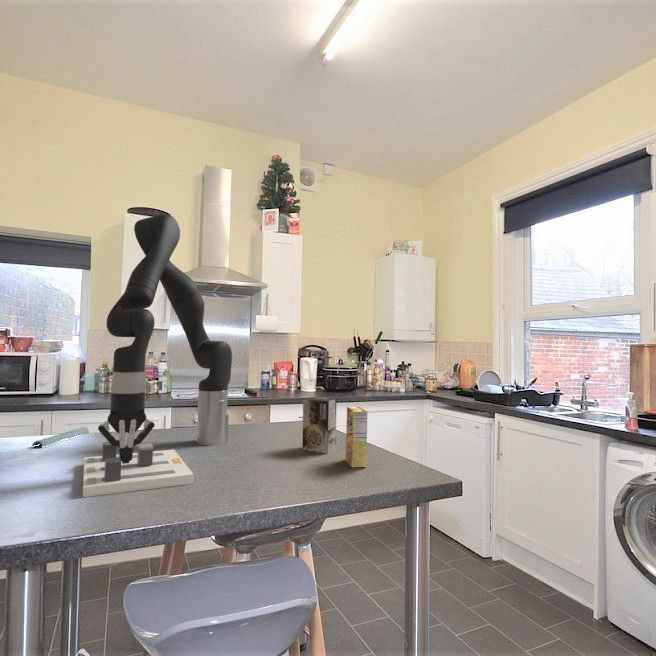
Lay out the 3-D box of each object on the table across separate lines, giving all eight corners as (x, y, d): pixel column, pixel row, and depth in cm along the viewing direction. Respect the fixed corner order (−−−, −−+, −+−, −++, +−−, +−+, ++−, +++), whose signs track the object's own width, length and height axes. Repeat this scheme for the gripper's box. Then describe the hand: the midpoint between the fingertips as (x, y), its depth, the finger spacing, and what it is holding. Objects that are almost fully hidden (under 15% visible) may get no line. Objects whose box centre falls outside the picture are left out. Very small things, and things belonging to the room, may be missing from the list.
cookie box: (336, 450, 136) (337, 398, 136) (327, 454, 130) (329, 400, 130) (310, 446, 139) (311, 396, 140) (301, 450, 134) (302, 398, 134)
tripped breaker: (150, 460, 108) (151, 443, 108) (152, 464, 105) (153, 446, 105) (136, 461, 107) (137, 444, 107) (138, 466, 103) (139, 448, 103)
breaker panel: (173, 458, 121) (174, 435, 122) (193, 485, 99) (194, 456, 99) (83, 467, 111) (85, 441, 111) (82, 500, 88) (84, 467, 88)
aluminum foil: (42, 453, 126) (43, 441, 126) (20, 452, 126) (20, 440, 126) (89, 437, 148) (89, 427, 148) (70, 436, 149) (70, 426, 149)
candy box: (344, 460, 124) (345, 406, 124) (359, 459, 125) (360, 406, 125) (351, 468, 115) (352, 411, 116) (367, 468, 116) (368, 410, 116)
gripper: (155, 388, 111) (153, 456, 110) (97, 389, 105) (94, 462, 104) (159, 391, 104) (156, 463, 104) (97, 393, 98) (94, 470, 97)
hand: (125, 462), depth 104 cm, fingers closed
